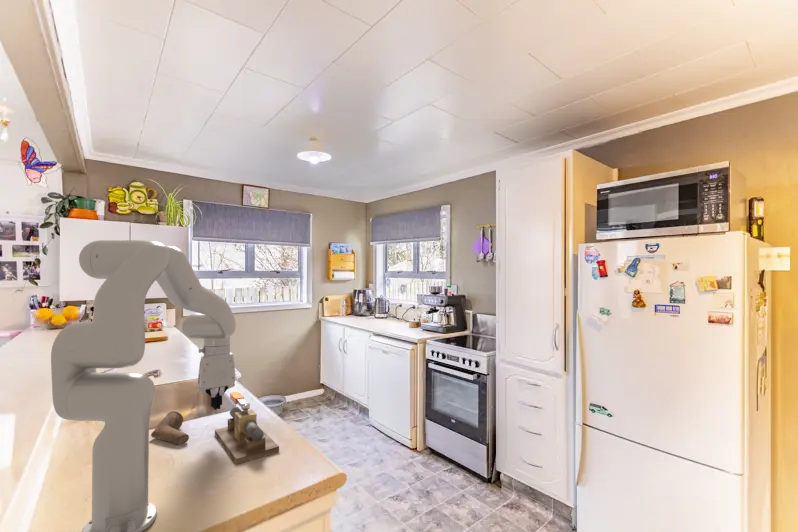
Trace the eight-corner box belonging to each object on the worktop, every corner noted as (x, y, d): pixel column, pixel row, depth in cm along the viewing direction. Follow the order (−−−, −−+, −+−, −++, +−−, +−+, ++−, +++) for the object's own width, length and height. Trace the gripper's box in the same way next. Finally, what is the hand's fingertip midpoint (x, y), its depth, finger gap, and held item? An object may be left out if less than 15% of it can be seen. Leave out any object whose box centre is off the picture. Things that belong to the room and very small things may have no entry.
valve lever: (242, 411, 115) (242, 405, 115) (230, 398, 127) (230, 392, 127) (251, 409, 117) (251, 403, 117) (238, 396, 129) (238, 391, 129)
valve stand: (279, 451, 111) (279, 415, 111) (236, 464, 104) (236, 426, 104) (252, 424, 130) (252, 394, 130) (214, 434, 123) (215, 401, 123)
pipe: (176, 433, 113) (205, 416, 122) (141, 423, 120) (171, 407, 129) (179, 453, 114) (208, 434, 123) (144, 442, 121) (174, 425, 130)
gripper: (192, 355, 113) (192, 417, 112) (245, 349, 122) (244, 406, 122) (188, 351, 119) (187, 410, 118) (238, 345, 128) (237, 400, 128)
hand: (216, 408), depth 120 cm, fingers closed
